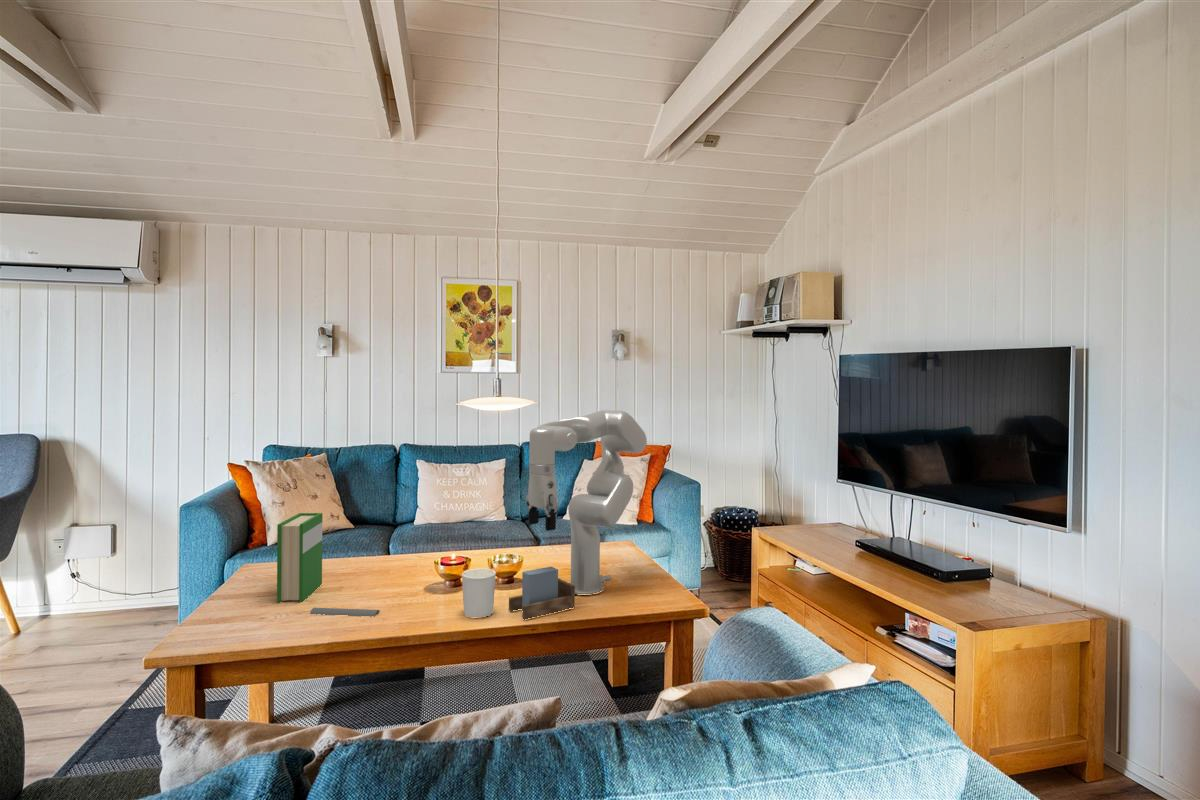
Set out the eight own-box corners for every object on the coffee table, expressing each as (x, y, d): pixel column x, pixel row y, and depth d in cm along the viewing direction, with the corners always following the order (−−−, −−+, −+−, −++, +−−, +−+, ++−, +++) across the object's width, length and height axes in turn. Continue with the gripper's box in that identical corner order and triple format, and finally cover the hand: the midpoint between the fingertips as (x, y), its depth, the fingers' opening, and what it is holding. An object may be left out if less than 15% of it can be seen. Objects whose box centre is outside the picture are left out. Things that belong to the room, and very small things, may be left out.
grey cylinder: (462, 621, 177) (463, 579, 176) (460, 609, 186) (460, 569, 186) (497, 618, 179) (497, 576, 179) (493, 606, 189) (493, 567, 189)
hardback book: (302, 602, 190) (302, 524, 189) (276, 603, 189) (277, 524, 189) (321, 584, 207) (322, 512, 207) (298, 585, 207) (299, 513, 206)
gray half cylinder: (374, 619, 179) (374, 612, 179) (308, 616, 180) (308, 610, 180) (380, 613, 183) (380, 607, 183) (316, 611, 184) (316, 605, 184)
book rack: (557, 600, 195) (557, 578, 195) (574, 608, 188) (574, 585, 188) (508, 611, 185) (509, 587, 185) (524, 620, 177) (524, 596, 177)
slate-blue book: (550, 605, 191) (551, 566, 190) (557, 609, 187) (558, 569, 187) (522, 612, 185) (522, 571, 184) (528, 616, 181) (529, 575, 181)
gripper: (568, 472, 181) (568, 530, 181) (538, 465, 195) (537, 520, 195) (546, 474, 176) (546, 534, 177) (516, 467, 190) (516, 523, 191)
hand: (541, 526), depth 186 cm, fingers open, 9 cm apart
